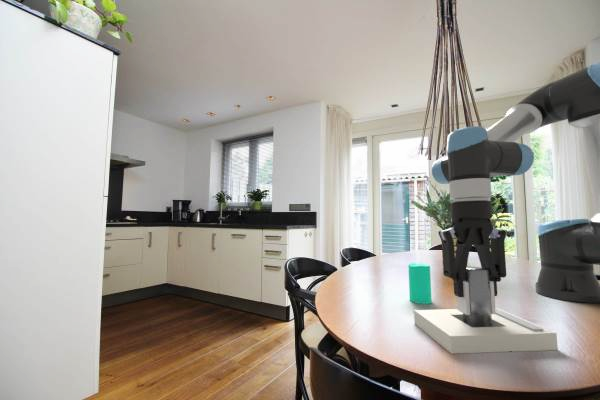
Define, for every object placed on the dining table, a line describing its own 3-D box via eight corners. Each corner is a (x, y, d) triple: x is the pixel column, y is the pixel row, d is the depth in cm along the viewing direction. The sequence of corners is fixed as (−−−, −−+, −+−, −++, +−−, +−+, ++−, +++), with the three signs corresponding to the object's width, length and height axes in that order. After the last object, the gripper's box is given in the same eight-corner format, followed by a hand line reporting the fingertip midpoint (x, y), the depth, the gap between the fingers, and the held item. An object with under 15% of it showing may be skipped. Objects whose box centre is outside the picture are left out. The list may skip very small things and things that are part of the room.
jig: (498, 321, 63) (497, 306, 63) (557, 349, 49) (556, 330, 49) (414, 323, 62) (413, 308, 62) (451, 353, 48) (450, 333, 48)
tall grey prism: (480, 322, 58) (477, 266, 59) (498, 331, 53) (494, 270, 54) (458, 323, 58) (455, 266, 59) (474, 332, 53) (470, 271, 54)
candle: (434, 304, 76) (432, 261, 77) (411, 303, 77) (410, 260, 78) (428, 298, 82) (427, 258, 83) (407, 297, 83) (406, 257, 84)
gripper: (496, 201, 62) (503, 305, 60) (421, 202, 61) (425, 307, 59) (525, 198, 54) (533, 317, 53) (439, 199, 53) (445, 320, 52)
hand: (476, 312), depth 56 cm, fingers closed on tall grey prism, 5 cm apart
